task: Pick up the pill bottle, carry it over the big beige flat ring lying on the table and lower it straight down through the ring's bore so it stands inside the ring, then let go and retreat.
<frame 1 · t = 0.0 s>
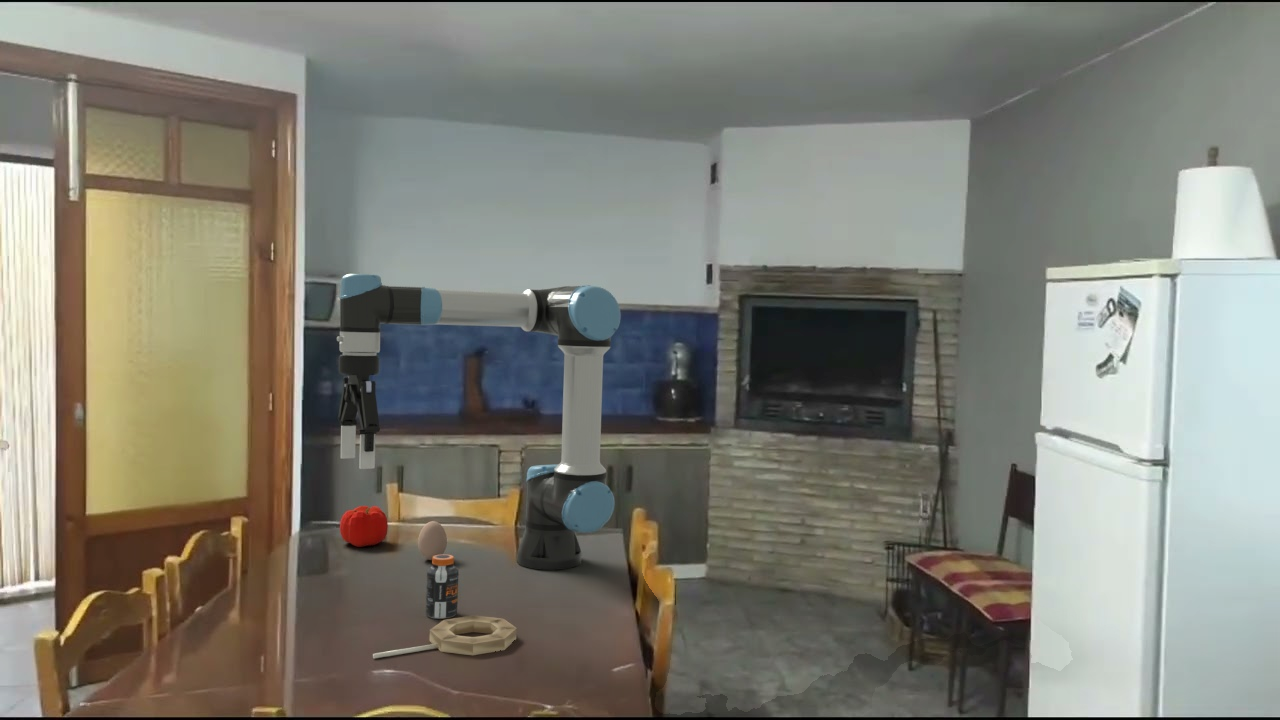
hand: (357, 463, 182), 28 cm above the table, fingers open, 13 cm apart
egg: (432, 560, 219), on the table
tomato: (363, 545, 232), on the table
white thin rod: (406, 653, 159), on the table
beige flat ring: (473, 640, 166), on the table
pill bottle: (441, 615, 180), on the table
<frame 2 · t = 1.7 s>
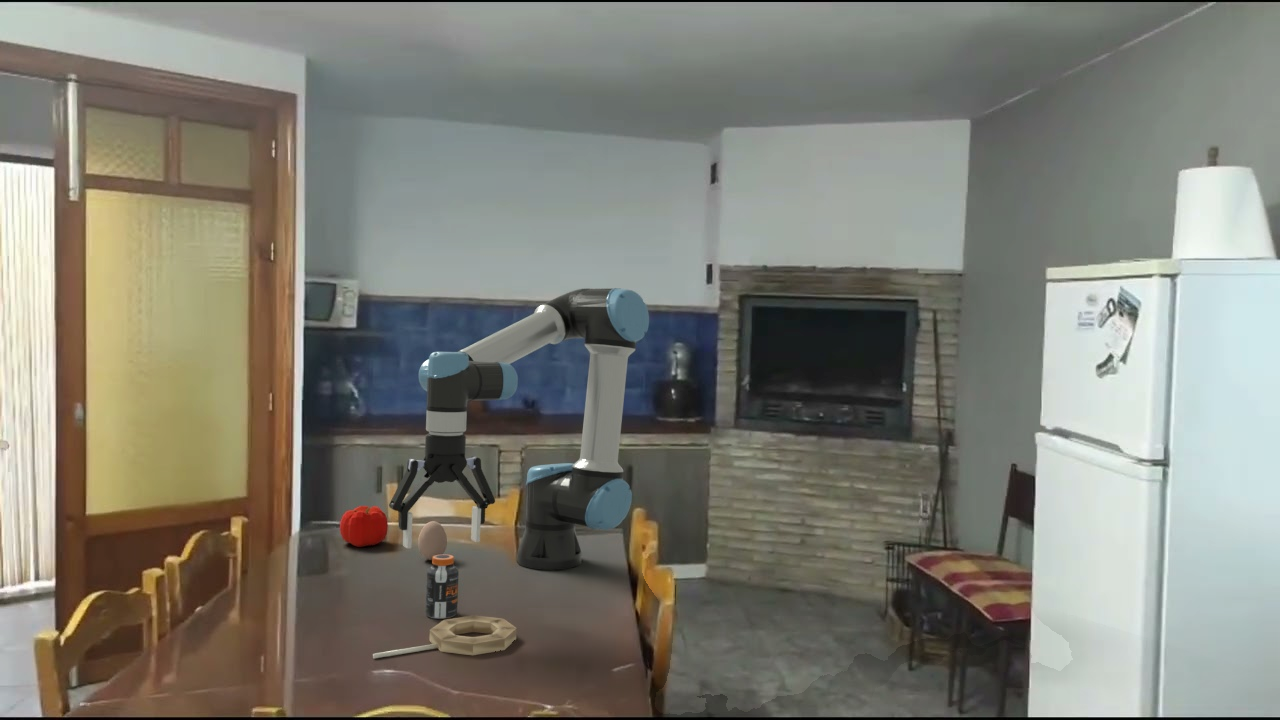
hand: (441, 544, 179), 14 cm above the table, fingers open, 13 cm apart
nothing on the table moved.
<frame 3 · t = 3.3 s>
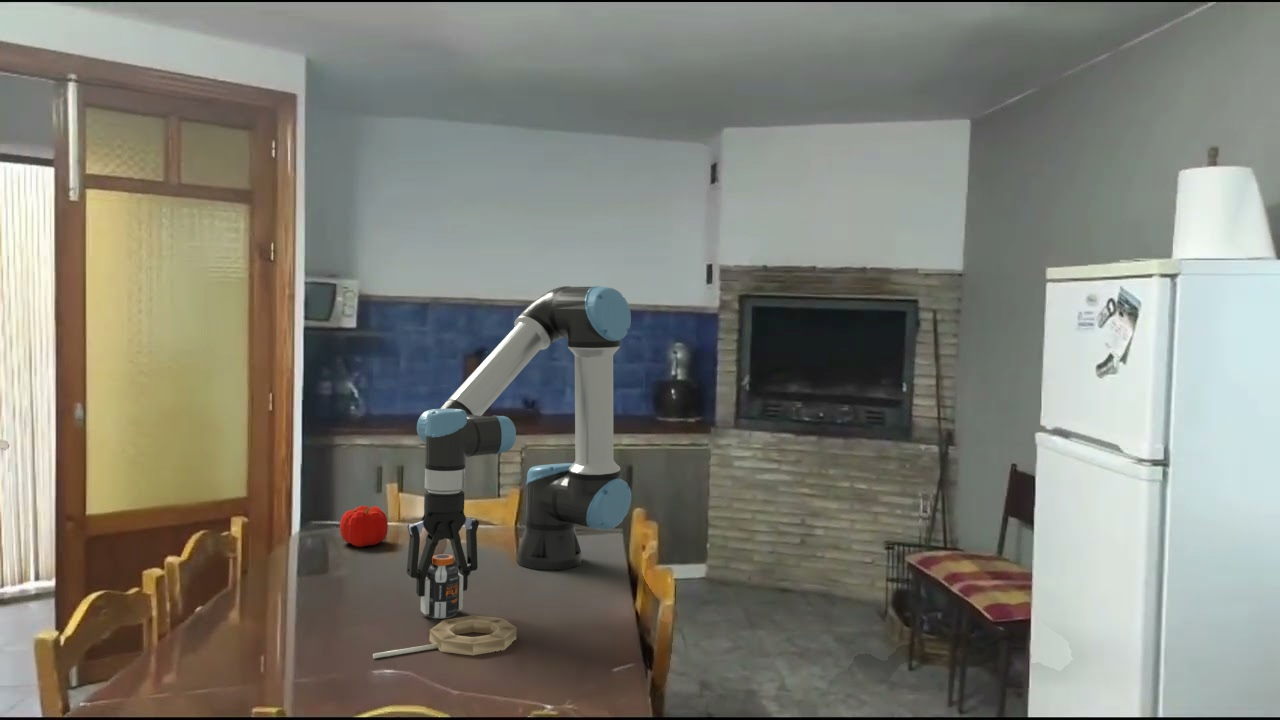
hand: (441, 609, 180), 1 cm above the table, fingers closed on pill bottle, 6 cm apart
pill bottle: (441, 615, 180), on the table, touching gripper
everything else where it was.
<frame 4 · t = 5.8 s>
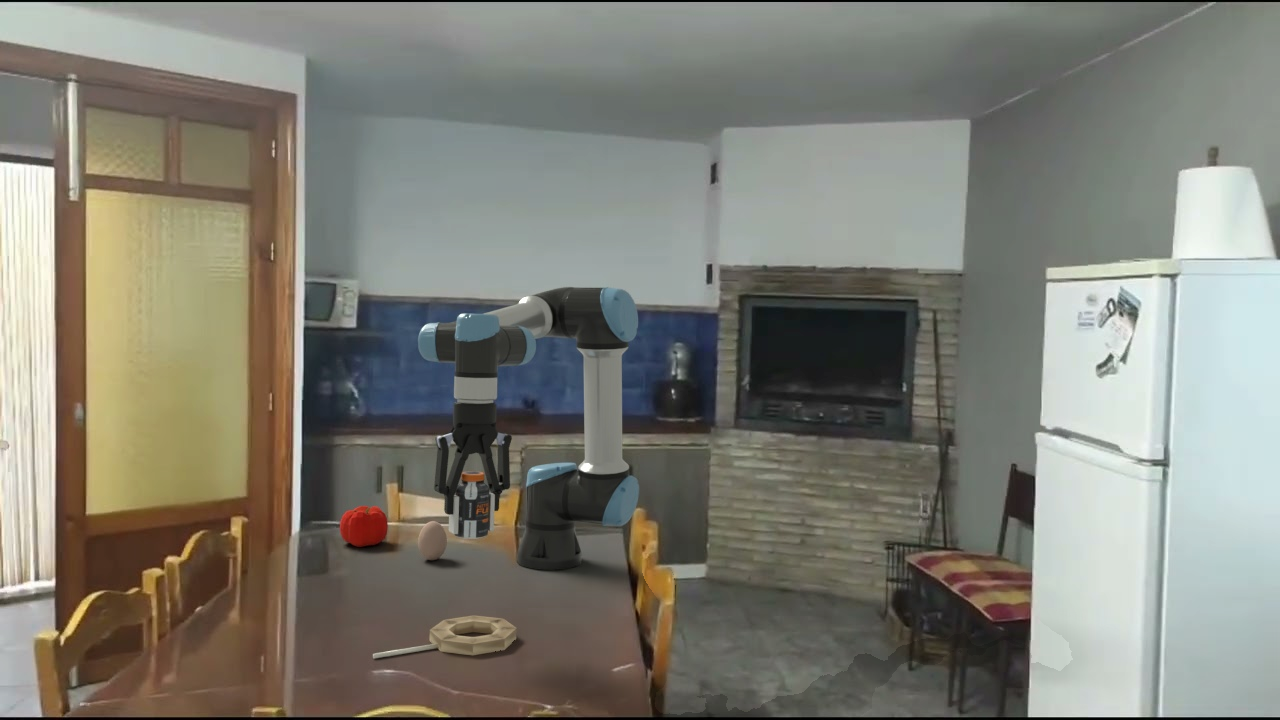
hand: (471, 530, 166), 19 cm above the table, fingers closed on pill bottle, 6 cm apart
pill bottle: (471, 536, 166), point 18 cm above the table, touching gripper
everything else where it was.
when the fingers open (3 cm above the table, at t = 8.5 s): pill bottle drops 2 cm, resting in beige flat ring.
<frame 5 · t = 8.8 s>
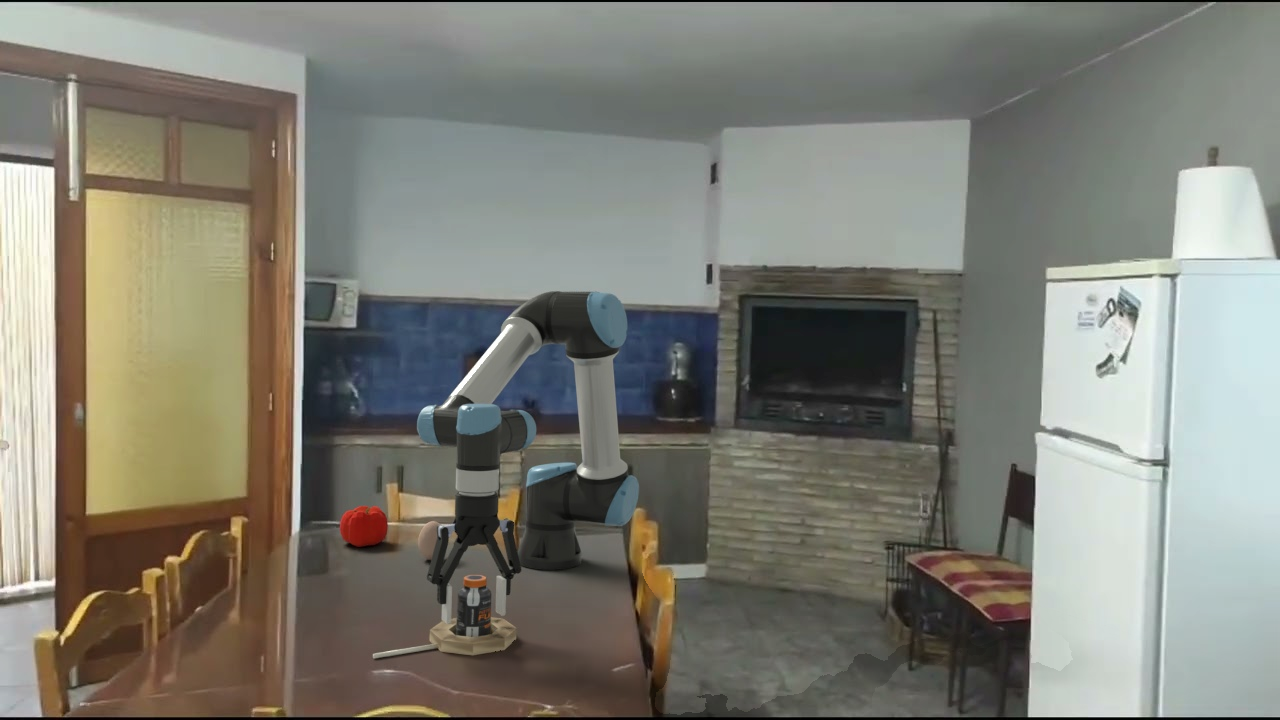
hand: (473, 617, 166), 4 cm above the table, fingers open, 9 cm apart
pill bottle: (472, 641, 166), resting in beige flat ring
everything else where it was.
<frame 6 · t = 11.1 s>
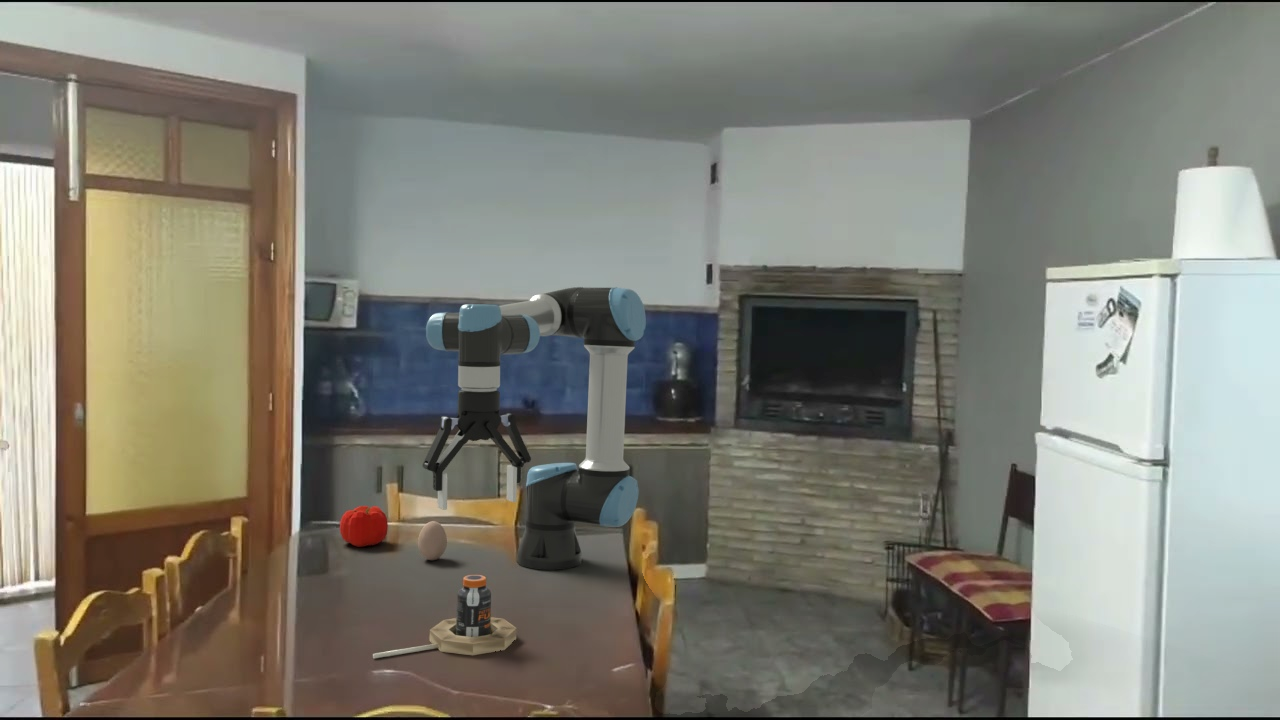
hand: (477, 504, 172), 23 cm above the table, fingers open, 13 cm apart
nothing on the table moved.
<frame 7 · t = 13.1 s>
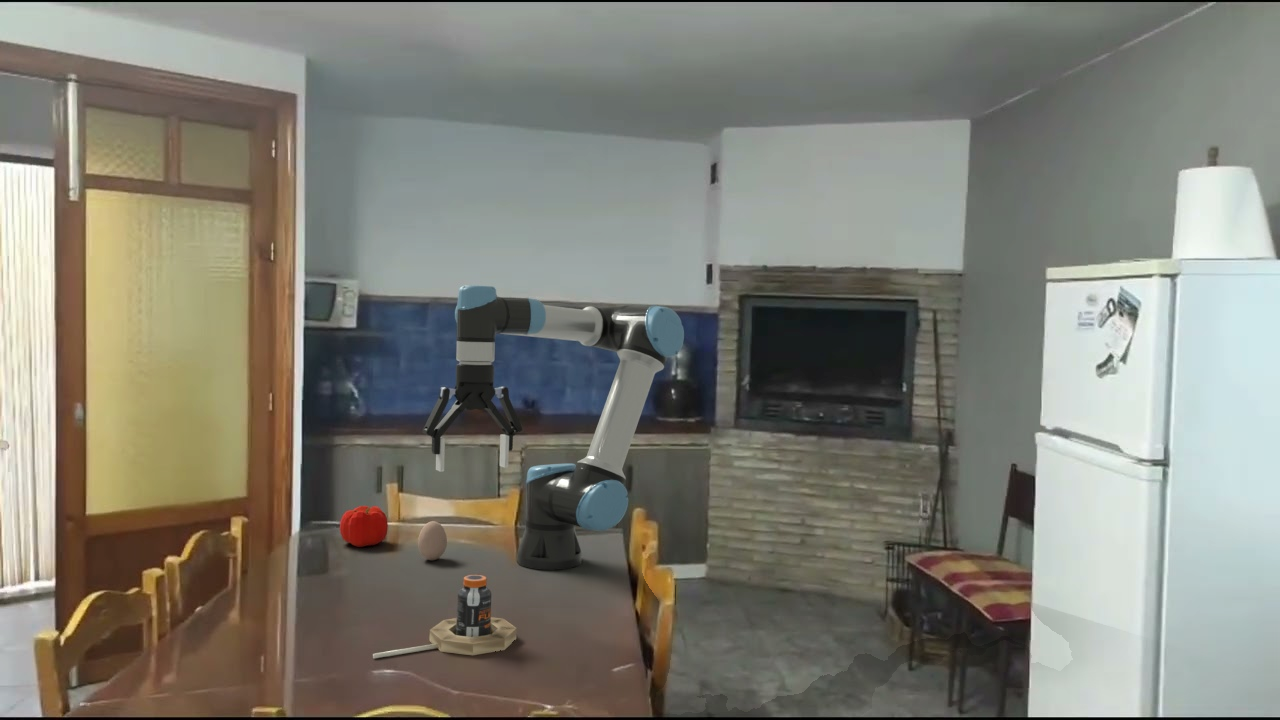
hand: (472, 469, 188), 27 cm above the table, fingers open, 13 cm apart
nothing on the table moved.
at the end: pill bottle 0.1 cm off-centre on the beige flat ring, point 0.0 cm above the beige flat ring's base; pill bottle tilted 0°; the gripper is holding nothing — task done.
